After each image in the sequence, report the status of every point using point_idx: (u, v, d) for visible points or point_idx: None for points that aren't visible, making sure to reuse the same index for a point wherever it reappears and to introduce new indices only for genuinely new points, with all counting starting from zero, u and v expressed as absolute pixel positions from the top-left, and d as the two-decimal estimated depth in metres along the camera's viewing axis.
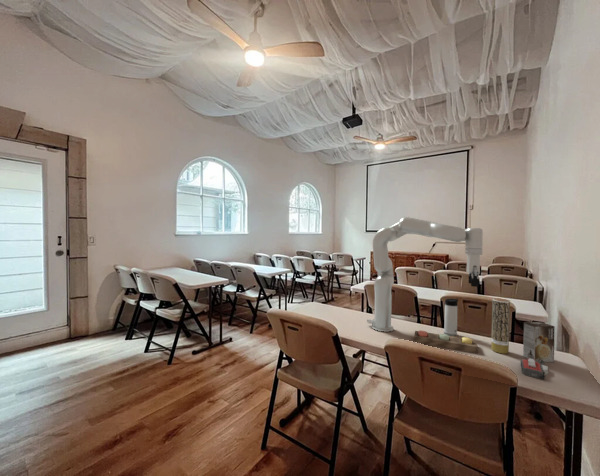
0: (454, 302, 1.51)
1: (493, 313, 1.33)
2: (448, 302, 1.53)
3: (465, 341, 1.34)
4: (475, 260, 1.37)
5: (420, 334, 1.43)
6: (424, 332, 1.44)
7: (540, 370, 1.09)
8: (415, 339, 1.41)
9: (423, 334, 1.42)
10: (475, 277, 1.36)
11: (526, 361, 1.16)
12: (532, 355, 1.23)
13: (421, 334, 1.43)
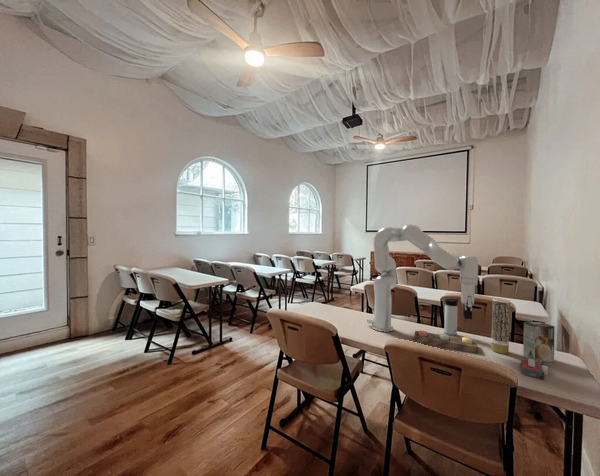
0: (454, 302, 1.51)
1: (493, 313, 1.33)
2: (448, 302, 1.53)
3: (465, 341, 1.34)
4: (469, 290, 1.31)
5: (420, 334, 1.43)
6: (424, 332, 1.44)
7: (539, 370, 1.09)
8: (415, 339, 1.41)
9: (423, 334, 1.42)
10: (468, 309, 1.32)
11: (526, 361, 1.16)
12: (532, 355, 1.23)
13: (421, 334, 1.43)
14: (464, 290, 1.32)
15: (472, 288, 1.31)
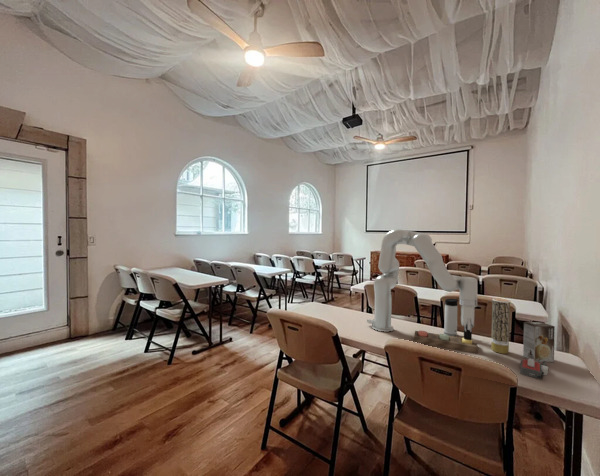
0: (454, 302, 1.51)
1: (493, 313, 1.33)
2: (448, 302, 1.53)
3: (465, 341, 1.34)
4: (469, 312, 1.31)
5: (420, 334, 1.43)
6: (424, 332, 1.44)
7: (539, 370, 1.09)
8: (415, 339, 1.41)
9: (423, 334, 1.42)
10: (468, 331, 1.34)
11: (526, 361, 1.16)
12: (532, 355, 1.23)
13: (421, 334, 1.43)
14: (464, 312, 1.32)
15: (472, 310, 1.31)
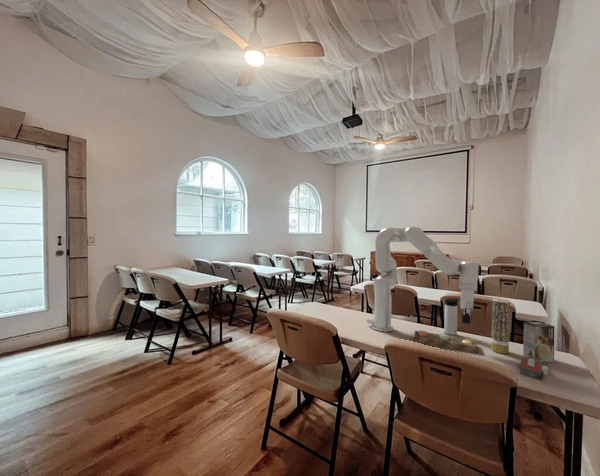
0: (454, 302, 1.51)
1: (493, 313, 1.33)
2: (448, 302, 1.53)
3: None
4: (469, 296, 1.31)
5: (420, 334, 1.43)
6: (424, 332, 1.44)
7: (538, 370, 1.09)
8: (415, 339, 1.41)
9: (423, 334, 1.42)
10: (467, 314, 1.34)
11: (526, 361, 1.16)
12: (532, 355, 1.23)
13: (421, 334, 1.43)
14: (463, 296, 1.32)
15: (471, 294, 1.31)
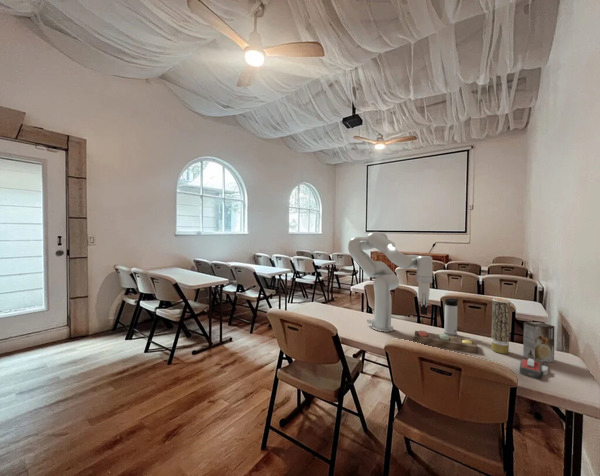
0: (454, 302, 1.51)
1: (493, 313, 1.33)
2: (448, 302, 1.53)
3: None
4: (424, 288, 1.40)
5: (420, 334, 1.43)
6: (424, 332, 1.44)
7: (538, 370, 1.09)
8: (415, 339, 1.41)
9: (423, 334, 1.42)
10: (424, 306, 1.42)
11: (526, 361, 1.16)
12: (532, 355, 1.23)
13: (421, 334, 1.43)
14: (419, 288, 1.41)
15: (426, 286, 1.40)
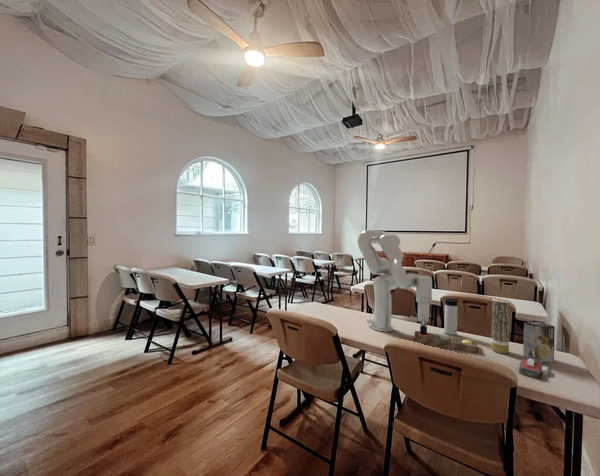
0: (454, 302, 1.51)
1: (493, 313, 1.33)
2: (448, 302, 1.53)
3: None
4: (423, 309, 1.40)
5: None
6: None
7: (537, 370, 1.09)
8: (415, 339, 1.41)
9: (423, 336, 1.42)
10: (423, 326, 1.42)
11: (526, 361, 1.16)
12: (532, 355, 1.23)
13: None
14: (419, 309, 1.41)
15: (426, 307, 1.40)
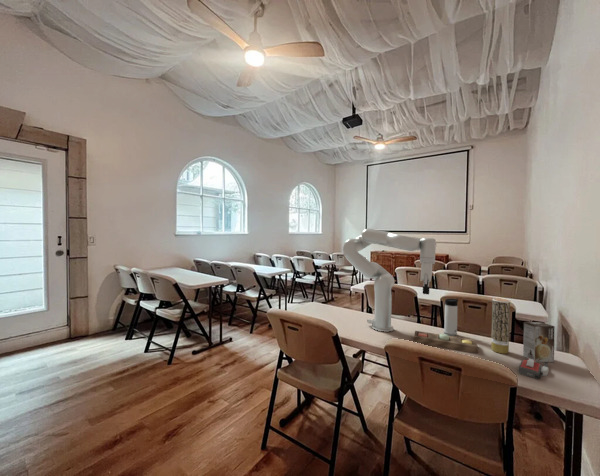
0: (454, 302, 1.51)
1: (493, 313, 1.33)
2: (448, 302, 1.53)
3: None
4: (426, 268, 1.46)
5: None
6: (424, 334, 1.44)
7: (537, 370, 1.09)
8: (415, 339, 1.41)
9: None
10: (426, 285, 1.49)
11: (526, 361, 1.16)
12: (532, 355, 1.23)
13: None
14: (422, 268, 1.47)
15: (429, 266, 1.46)
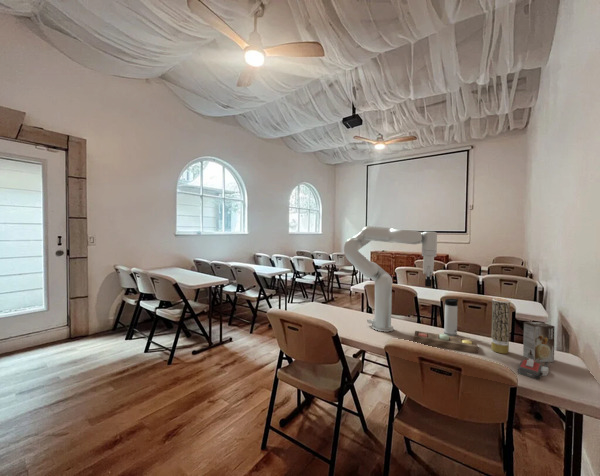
0: (454, 302, 1.51)
1: (493, 313, 1.33)
2: (448, 302, 1.53)
3: None
4: (429, 261, 1.49)
5: None
6: (424, 334, 1.44)
7: (537, 370, 1.09)
8: (415, 339, 1.41)
9: None
10: (428, 278, 1.51)
11: (526, 361, 1.16)
12: (532, 355, 1.23)
13: None
14: (424, 261, 1.50)
15: (431, 259, 1.49)
